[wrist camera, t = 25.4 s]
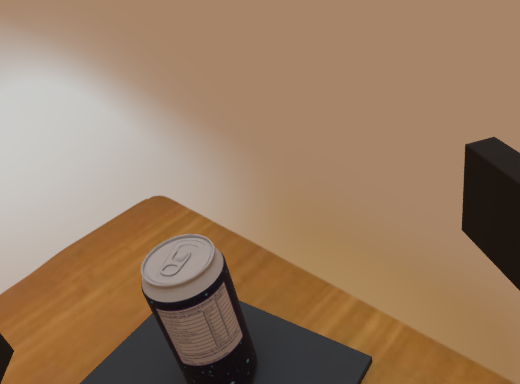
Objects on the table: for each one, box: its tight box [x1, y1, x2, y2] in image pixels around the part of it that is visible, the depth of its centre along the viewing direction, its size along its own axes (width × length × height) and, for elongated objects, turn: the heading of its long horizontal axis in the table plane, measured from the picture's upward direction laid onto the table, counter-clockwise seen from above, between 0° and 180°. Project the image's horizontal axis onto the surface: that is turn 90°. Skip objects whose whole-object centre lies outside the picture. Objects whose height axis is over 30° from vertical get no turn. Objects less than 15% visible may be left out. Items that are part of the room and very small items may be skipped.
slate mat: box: [80, 301, 372, 384], centre depth 34 cm, size 20×14×1 cm
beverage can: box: [141, 234, 257, 384], centre depth 31 cm, size 6×6×12 cm
